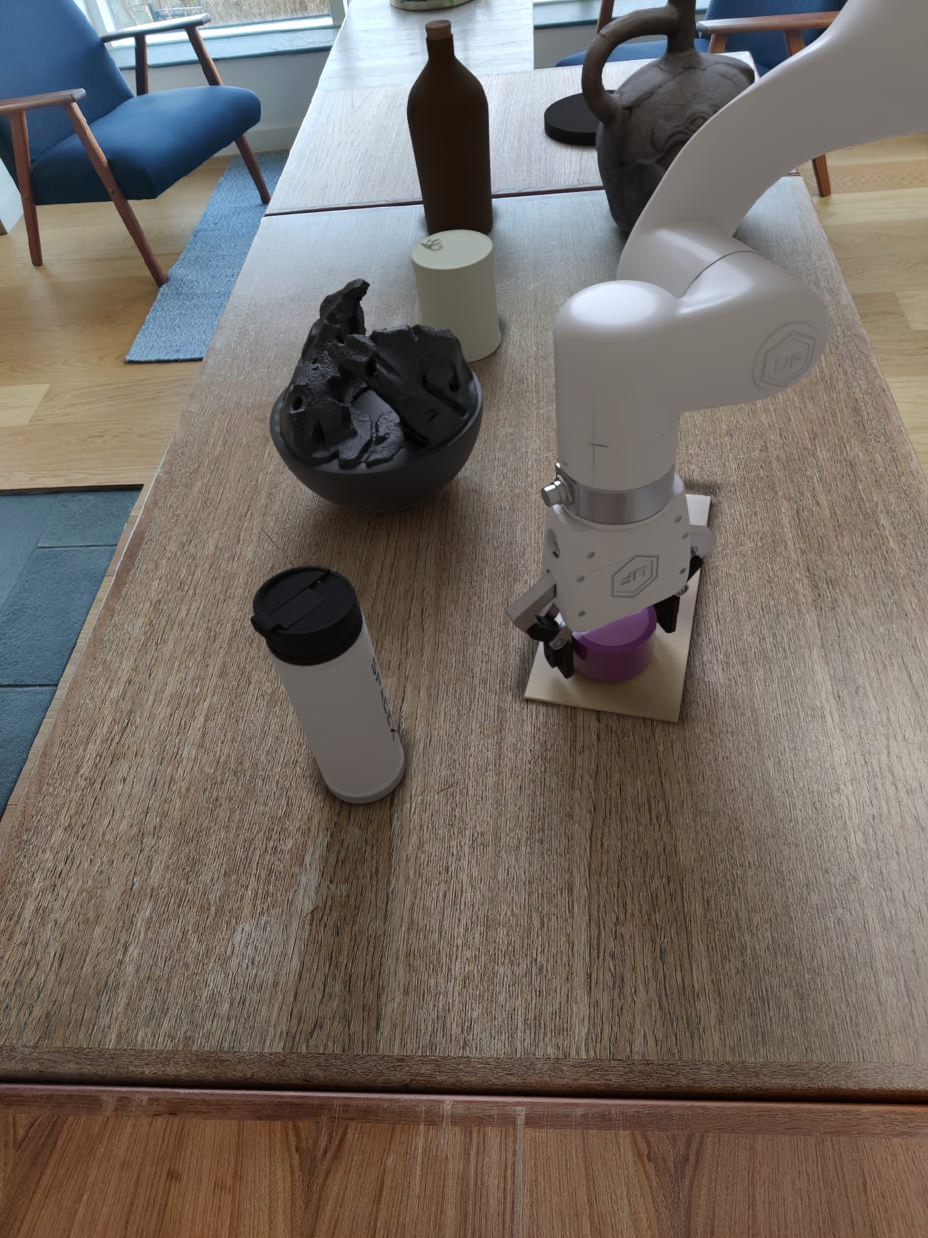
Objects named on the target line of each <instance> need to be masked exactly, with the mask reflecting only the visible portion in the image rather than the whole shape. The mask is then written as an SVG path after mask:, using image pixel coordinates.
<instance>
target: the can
mask: <svg viewBox="0 0 928 1238" xmlns="http://www.w3.org/2000/svg"><path fill="white" fill-rule="evenodd" d="M410 259H411V263H412V267H413V273H414V279H415V280H414V281H415V284H416V285H415V286H416V291H417V297H418V305H419V310H420V316H421V325H425V326H431V327H433V328H444V327H447V328H449V329H450V331H451V332H452V333H453V334H454V336H456V337H457V338H458V340H459V342H460V344H461V349H462V353H463V355H464V357H465V359H466V361H467V363H468V364H469V363H473V362H477V361H480V360H482V359H485V358H486V357H488V356H490V355H492V354H493V353H495V351H496V350H498V348H499V347H500V345H501V342H502V333H501V331H500V325H499V314H498V303H497V302H498V301H497V292H496V291H497V290H496V279H495V278H496V277H495V264H494V244H493V241H492V240H491V238H489V236H488V235H486V234H482V233H479V232H475V231H470V230H451V231H444V232H440V233H436V234H433V235H431V236H430V235H429V236H426V237H424V238H422V239H421V240H420V241H418V242H417V243H416V244H415V245H414V246H413V247H412V249H411V252H410Z"/></svg>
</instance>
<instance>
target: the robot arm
mask: <svg viewBox="0 0 928 1238" xmlns="http://www.w3.org/2000/svg"><path fill="white" fill-rule="evenodd" d="M927 132H928V0H847V1H846V3H844V5H843V7H842V8H841V10H840V11H839V13H838V14H837V15H836V17H835V19H834V20H833V21H832V23H831V24H830V25H829V26H828V28H826V30H825V31H824V32H823V33H822V34H820V36H819V37H817V39H815V40H814V41H812V43H810V44H808V45H807V46H805V47H804V48H803V49H801V50H799V51H798V52H796V53H795V54H793V55H792V56H790V57H788V58H787V59H785V60H784V61H782V62H781V63H779V64H778V65H776V66H775V67H773V68H772V69H770V70H768V71H767V72H766V73H765V74H764V75H762V76H761V77H760V78H758V79H757V80H755V82H754V83H753V84H752V85H751V86H749V87H748V88H747V89H746V90H744V91H743V92H742V93H741V94H739V95H738V96H737V97H736V98H734V99H733V100H732V101H731V102H729V103H728V104H727V105H726V106H724V107H723V108H722V109H721V110H719V111H718V112H717V113H716V114H715V115H714V116H712V117H711V118H710V119H709V120H708V121H707V122H706V123H705V124H704V125H703V126H702V127H701V128H700V129H699V130H698V131H697V132H696V133H695V134H694V135H693V136H692V137H691V139H690V140H689V141H688V142H687V143H686V145H685V146H684V147H683V148H682V149H681V151H680V152H679V154H678V155H677V157H676V158H675V159H674V161H673V162H672V164H671V165H670V167H669V169H668V170H667V172H666V173H665V175H664V177H663V178H662V180H661V182H660V183H659V185H658V187H657V188H656V190H655V192H654V193H653V195H652V197H651V198H650V200H649V202H648V203H647V205H646V206H645V208H644V210H643V212H642V213H641V215H640V217H639V219H638V220H637V222H636V224H635V226H634V228H633V230H632V232H631V234H630V233H629V236H628V239H627V240H626V243H625V245H624V247H623V250H622V252H621V255H620V258H619V262H618V264H617V269H616V275H615V276H616V277H615V280H609V281H604V282H600V283H596V284H593V285H589V286H587V287H585V288H583V289H581V290H579V291H578V292H576V293H574V294H573V295H572V296H571V297H569V298H568V299H567V300H566V302H564V303H563V305H562V306H561V308H560V309H559V311H558V313H557V315H556V318H555V321H554V325H553V341H552V345H553V367H554V369H553V370H554V397H555V421H556V422H555V424H556V450H557V451H556V452H557V462H556V463H555V465H554V467H555V478H554V480H553V481H551V482H550V483H549V485H547V486H544V487H541V489H540V495H541V499H542V501H543V503H544V505H545V506H546V507H548V510H547V515H546V520H545V525H544V533H543V544H542V560H541V561H542V563H541V564H542V565H541V566H542V569H541V571H542V573H541V574H542V577H541V578H540V579H538V580H537V582H535V583H534V584H533V585H532V586H530V587H529V588H528V589H527V590H526V591H525V592H524V593H523V594H521V595H520V596H519V598H517V599H516V600H515V601H514V602H513V603H511V604H510V605H509V606H508V607H507V608H506V610H505V615H506V616H507V618H508V619H509V620H510V622H511V623H512V625H513V626H514V627H515V628H516V629H518V630H520V631H521V632H522V633H524V634H526V635H527V636H528V637H529V639H531V640H533V641H537V642H540V641H541V642H543V647H544V655H545V658H546V660H547V662H548V664H549V665H550V666H551V668H555V667H557V668H558V669H559V670H560V672H561V673H562V675H563V676H564V678H565V679H568V678H570V677H572V675H573V674H574V655H573V645H572V643H571V641H570V640H569V638H570V636H571V635H572V634H573V632H586V631H590V630H593V629H596V628H599V627H601V626H604V625H606V624H609V623H611V622H614V621H616V620H618V619H621V618H623V617H625V616H628V615H630V614H632V613H635V612H637V611H639V610H642V609H644V608H646V607H648V606H651V605H653V607H654V609H655V611H656V615H657V623H658V624H659V625H660V626H661V628H662V629H663V630H664V631H665V632H666V633H669V634H670V633H672V632H675V631H676V624H677V615H678V612H679V604H680V596H682V595H684V594H685V593H686V592H687V591H688V589H689V585H688V584H687V582H688V581H689V580H690V579H691V578H692V577H693V575H694V574H695V573H696V572H697V571H698V570H699V569H700V568H702V566H703V565H704V560H703V558H704V557H706V556H707V554H708V553H709V552H710V550H711V548H712V547H713V545H714V544H715V542H716V540H717V536H716V534H715V533H714V532H713V530H711V529H710V528H709V526H708V525H707V526H703V525H692V524H690V519H689V511H688V504H687V498H686V494H687V493H686V489H685V488H686V487H685V484H684V481H683V479H682V477H680V475H678V474H677V472H676V463H677V453H678V442H679V432H680V431H679V430H680V419H681V416H682V415H684V414H685V413H691V412H696V411H702V410H703V411H704V410H709V409H715V408H723V407H730V406H737V405H743V404H749V403H754V402H757V401H761V400H765V399H768V398H771V397H773V396H776V395H779V394H780V393H782V392H784V391H786V390H788V389H789V388H791V387H793V386H794V385H796V384H797V383H799V382H800V381H801V380H802V379H804V378H805V377H806V376H807V375H808V374H809V373H810V372H811V371H812V370H813V369H814V367H815V366H816V365H817V364H818V362H820V359H821V357H822V356H823V354H824V351H826V347H827V344H828V341H829V336H830V317H829V313H828V310H827V308H826V305H825V303H824V302H823V300H822V297H820V296H819V294H818V293H817V292H816V291H815V290H814V289H813V288H812V287H811V286H809V284H807V283H806V282H805V281H804V280H802V279H801V278H799V277H798V276H796V275H794V274H793V273H791V272H790V271H788V270H786V269H784V268H783V267H781V266H780V265H777V264H776V263H774V262H772V261H771V260H769V259H768V258H766V257H765V256H764V255H763V254H761V253H760V252H759V251H757V250H755V249H753V248H752V247H749V246H748V245H746V244H745V243H744V242H742V241H740V240H738V239H737V238H736V237H735V238H734V237H733V235H734V234H735V232H736V230H737V229H738V227H739V225H740V224H741V222H742V221H743V220H744V219H745V217H746V215H747V214H748V213H749V212H750V210H751V209H752V208H753V207H754V205H755V204H756V203H757V201H758V200H760V199H761V197H762V196H763V195H764V194H765V193H766V192H767V191H768V190H769V189H770V188H771V187H773V186H774V185H775V184H776V183H777V182H778V181H779V180H781V179H783V178H784V177H785V176H787V175H788V174H790V173H791V172H793V171H794V170H795V169H796V168H798V167H800V166H802V165H804V164H806V163H808V162H810V161H812V160H814V159H816V158H819V157H822V156H824V155H827V154H829V153H831V152H836V151H838V150H842V149H846V148H851V147H854V146H859V145H864V144H869V143H873V142H879V141H883V140H890V139H894V138H895V139H896V138H901V137H905V136H906V137H907V136H911V135H917V134H922V133H927ZM700 570H701V569H700ZM539 612H540V613H539ZM559 612H560V614H561V617H562V622H561V623H560V625H559V624H558V622H557V621H556V620H555V618H556V617H557V615H558V614H559ZM538 613H539V614H538Z"/></svg>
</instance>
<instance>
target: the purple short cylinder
mask: <svg viewBox="0 0 928 1238" xmlns="http://www.w3.org/2000/svg"><path fill="white" fill-rule="evenodd" d="M656 627H657V615H656V611H655V609H654V607H653V605H651V606H648V607H646V608H644V609H642V610H639V611H637V612H635V613H632V614H630V615H628V616H625V617H623V618H621V619H618V620H616V621H614V622H611V623H609V624H606V625H604V626H601V627H599V628H596V629H593V630H590V631H586V632H573V634H572V635H571V636H570V638H569V640H570V641H571V643H572V645H573V655H574V667H575V668H576V669H577V670H578V671H580V672H581V673H582V674H584V675H586V676H588V677H590V678H592V679H595V680H599V681H605V682H619V681H624V680H628V679H631V678H633V677H635V676H637V675H639V674H640V673H642V672H643V671H644V670H645V669H646V668H647V667H648V666H649V664H650V663H651V661H652V659H653V656H654V651H655V639H656Z"/></svg>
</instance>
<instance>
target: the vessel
mask: <svg viewBox="0 0 928 1238" xmlns="http://www.w3.org/2000/svg"><path fill="white" fill-rule="evenodd" d="M696 8H697V0H667V3H666V4H665V5H663V6H659V7H647V8H641V9H640V8H639V9H635V10H632V11H631V12H628V13H626V14H623V15H621V16H619V17H617V18H616V19H614V20H612V21H610V22H609V23H607V24H606V25H605V26H603V27H602V29H600V30H599V32H598V33H597V34H596V36H595V37H594V39H593V40H592V42H591V44H590V45H589V47H588V48H587V50H586V53H585V55H584V59H583V62H582V67H581V76H580V77H581V78H580V86H581V93H583V97H584V99H585V101H586V104H587V106H588V108H589V109H590V111H591V112H592V113H593V114H594V116H595V117H596V118H597V119H598V120H599V121H600V124H599V126H598V129H597V133H596V138H595V144H596V146H595V150H596V154H597V155H596V157H597V158H596V160H597V161H596V162H597V168H598V172H599V173H598V174H599V177H600V180H601V184H602V187H603V189H604V192H605V193H604V194H605V197H606V200H607V204H608V208H609V212H610V215H611V218H612V220H613V221H614V223H615V224H616V226H617V227H618V228H619V229H620V230H622V231H623V232H626V233H628V234H629V235H630V234H631V232H632V230H633V228H634V226H635V224H636V222H637V220H638V219H639V217H640V215H641V213H642V212H643V210H644V208H645V206H646V205H647V203H648V202H649V200H650V198H651V197H652V195H653V193H654V192H655V190H656V188H657V187H658V185H659V183H660V182H661V180H662V178H663V177H664V175H665V173H666V172H667V170H668V169H669V167H670V165H671V164H672V162H673V161H674V159H675V158H676V157H677V155H678V154H679V152H680V151H681V149H682V148H683V147H684V146H685V145H686V143H687V142H688V141H689V140H690V139H691V137H692V136H693V135H694V134H695V133H696V132H697V131H698V130H699V129H700V128H701V127H702V126H703V125H704V124H705V123H706V122H707V121H708V120H709V119H710V118H711V117H712V116H714V115H715V114H716V113H717V112H718V111H719V110H721V109H722V108H723V107H724V106H726V105H727V104H728V103H729V102H731V101H732V100H733V99H734V98H736V97H737V96H738V95H739V94H741V93H742V92H743V91H744V90H746V89H747V88H748V87H749V86H751V85H752V84H753V83H754V82H756V73H755V69H754V68H753V67H752V66H751V65H750V64H749V63H747V62H746V61H743V60H742V59H740V58H737V57H734V56H730V55H725V54H720V53H710V52H699V51H698V50H697V47H696V45H695V25H696ZM647 36H666V48H665V51H664V53H663V55H662V56H661V57H659V58H657V59H654V60H652V61H650V62H647V63H646V64H645V65H643V66H641V67H640V68H638V69H637V70H636V71H634V72H633V73H632V74H631V75H629V76H628V77H627V78H626V79H625V80H624V81H623V82H622V84H620V85H619V86H618V87H617V89H615V90H616V91H615V92H614V93H613V94H609V93H608V92H607V91H606V90H607V89H606V88H605V86H604V84H603V71H604V69H605V68H604V67H606V63H607V61H608V59H609V58H610V57H611V55H612V53H613V52H614V51H615V49H616V48H618V47H619V46H620V45H621V44H624V43H625V42H628V41H630V40H633V39H637V38H640V37H647Z"/></svg>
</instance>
